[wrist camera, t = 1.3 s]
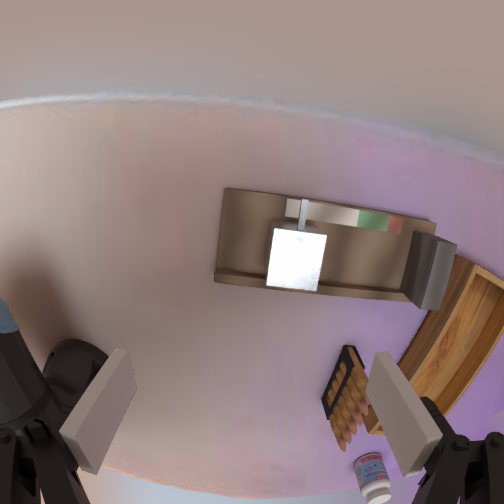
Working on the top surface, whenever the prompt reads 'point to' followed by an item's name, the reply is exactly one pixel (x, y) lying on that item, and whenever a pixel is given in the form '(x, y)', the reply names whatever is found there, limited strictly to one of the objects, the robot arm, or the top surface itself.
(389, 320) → the top surface
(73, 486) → the robot arm
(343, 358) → the ammunition clip
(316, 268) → the cube with dark rod
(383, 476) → the pill bottle
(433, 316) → the tray
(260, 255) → the brown tray with block
